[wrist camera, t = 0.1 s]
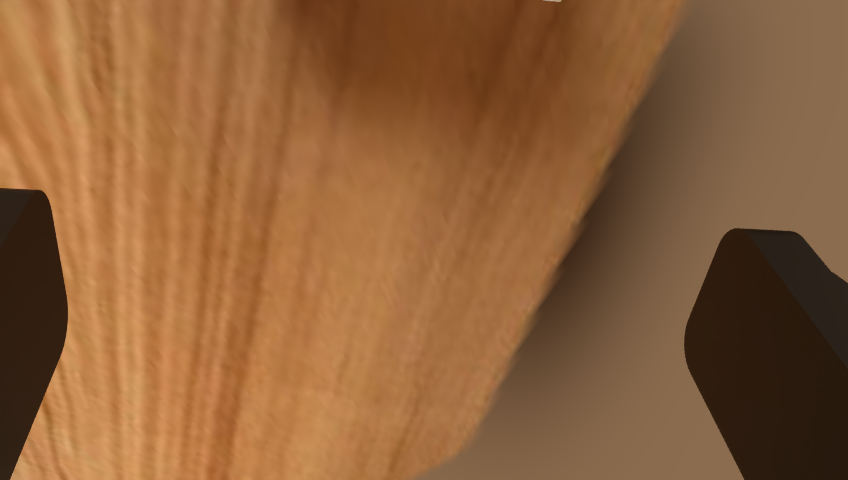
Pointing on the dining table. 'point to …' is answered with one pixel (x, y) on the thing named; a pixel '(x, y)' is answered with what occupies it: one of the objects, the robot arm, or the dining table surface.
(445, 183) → the dining table surface
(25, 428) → the robot arm
